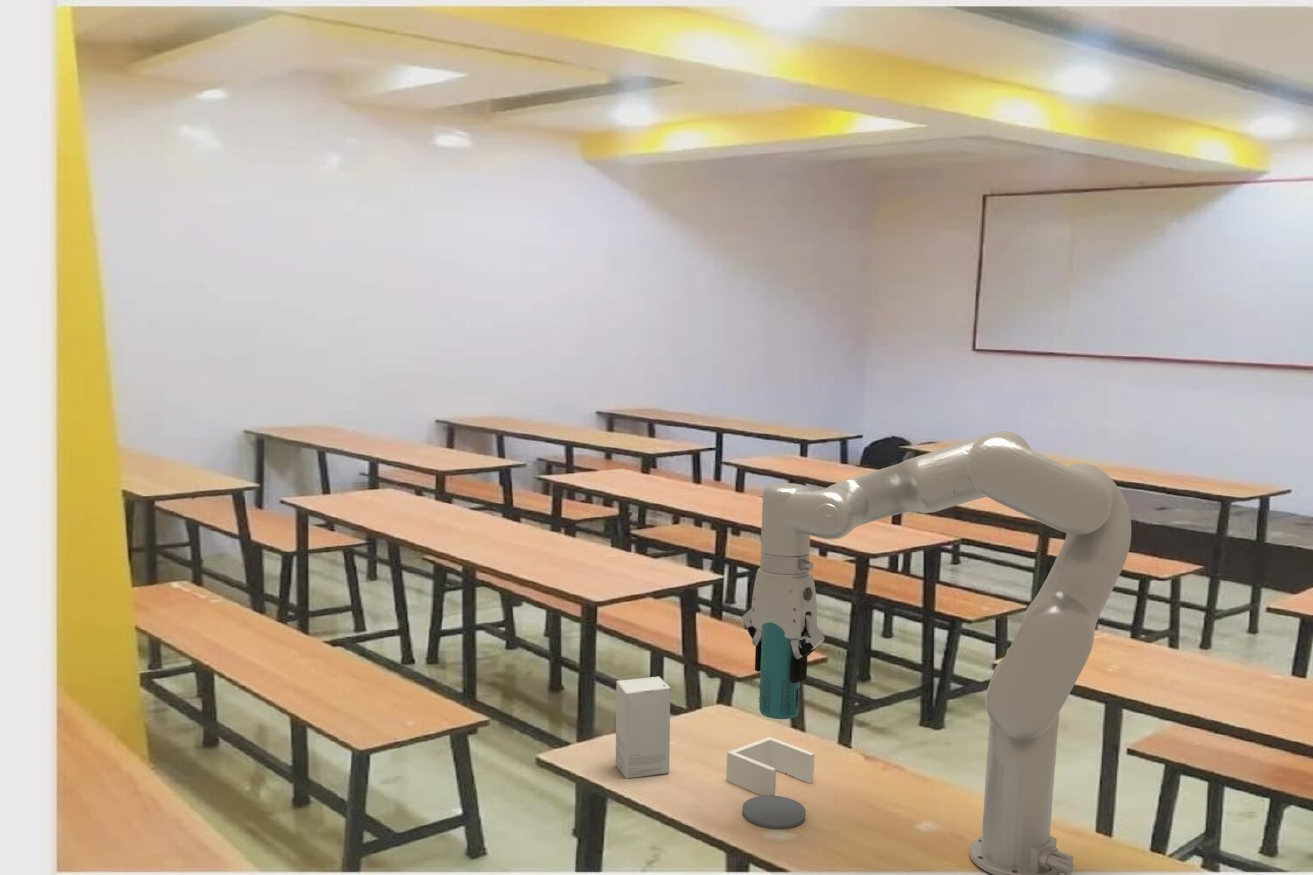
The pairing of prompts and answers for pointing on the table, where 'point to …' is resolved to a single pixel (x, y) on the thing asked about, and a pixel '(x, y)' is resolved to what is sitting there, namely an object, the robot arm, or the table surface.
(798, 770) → the white u-shaped bracket
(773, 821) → the pad
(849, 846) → the table surface
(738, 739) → the table surface
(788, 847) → the table surface
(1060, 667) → the robot arm
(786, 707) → the beverage bottle
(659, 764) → the skincare box
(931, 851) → the table surface
